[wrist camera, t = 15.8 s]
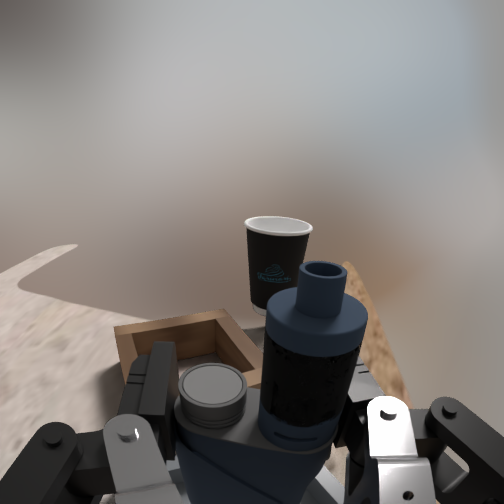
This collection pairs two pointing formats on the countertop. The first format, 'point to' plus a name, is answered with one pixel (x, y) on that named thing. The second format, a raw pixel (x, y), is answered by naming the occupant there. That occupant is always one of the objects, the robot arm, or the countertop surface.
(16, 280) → the countertop surface
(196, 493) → the vaping device
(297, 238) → the dixie cup
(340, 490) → the tray
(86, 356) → the countertop surface
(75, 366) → the countertop surface
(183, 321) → the hollow wooden square
